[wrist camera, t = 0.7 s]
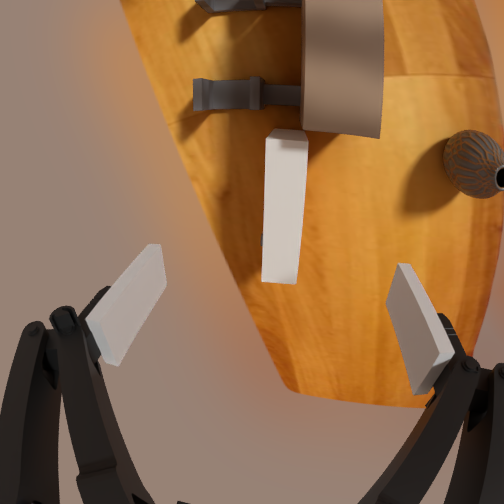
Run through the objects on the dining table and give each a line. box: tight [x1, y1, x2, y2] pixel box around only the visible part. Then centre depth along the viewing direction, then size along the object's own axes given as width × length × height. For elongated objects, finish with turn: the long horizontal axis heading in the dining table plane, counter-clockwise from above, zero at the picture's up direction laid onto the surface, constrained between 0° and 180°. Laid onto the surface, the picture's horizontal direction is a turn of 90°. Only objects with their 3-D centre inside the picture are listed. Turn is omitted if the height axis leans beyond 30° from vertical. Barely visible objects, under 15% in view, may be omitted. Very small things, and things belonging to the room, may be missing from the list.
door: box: [261, 129, 309, 284], centre depth 26 cm, size 12×4×9 cm, turn 179°
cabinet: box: [193, 0, 384, 139], centre depth 18 cm, size 16×14×11 cm
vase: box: [443, 130, 504, 199], centre depth 21 cm, size 7×7×9 cm
